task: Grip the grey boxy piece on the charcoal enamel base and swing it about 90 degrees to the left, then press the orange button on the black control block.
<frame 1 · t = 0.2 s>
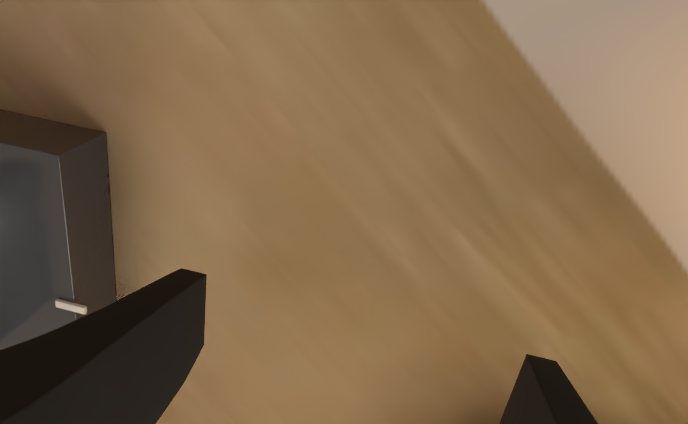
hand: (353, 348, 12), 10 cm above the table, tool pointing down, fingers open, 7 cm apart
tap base: (12, 245, 26), on the table
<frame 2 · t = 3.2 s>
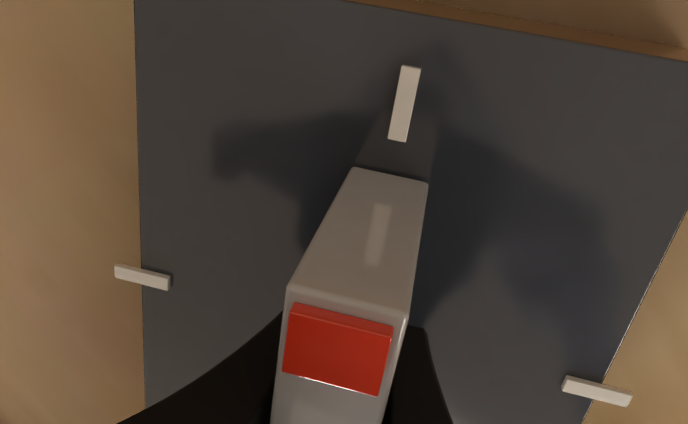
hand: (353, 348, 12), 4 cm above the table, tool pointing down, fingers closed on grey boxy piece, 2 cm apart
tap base: (377, 264, 15), on the table
grey boxy piece: (336, 405, 10), point 5 cm above the table, hinge at 0.0°, touching gripper
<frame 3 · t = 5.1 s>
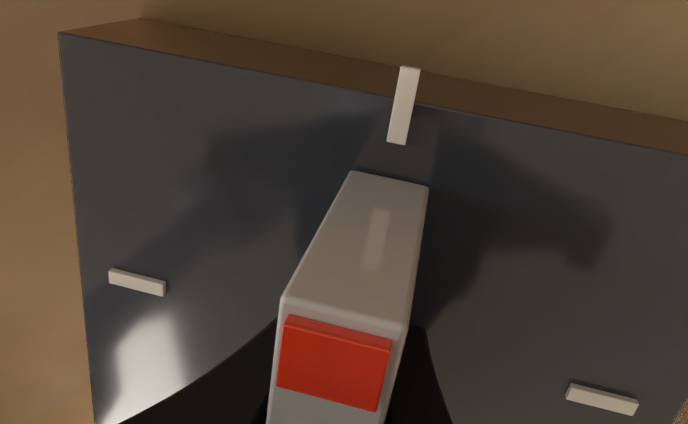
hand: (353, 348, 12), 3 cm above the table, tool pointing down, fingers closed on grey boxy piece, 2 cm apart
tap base: (376, 268, 15), on the table
grey boxy piece: (334, 415, 10), point 5 cm above the table, hinge at 89.9°, touching gripper
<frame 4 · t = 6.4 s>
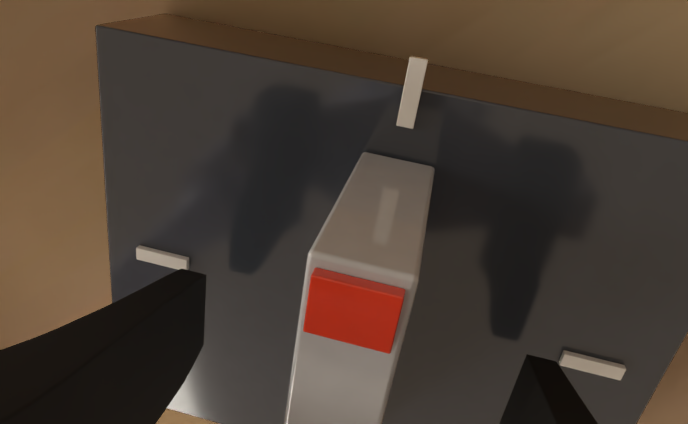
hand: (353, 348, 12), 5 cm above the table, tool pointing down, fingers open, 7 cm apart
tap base: (383, 249, 16), on the table
grey boxy piece: (348, 374, 11), point 5 cm above the table, hinge at 89.9°
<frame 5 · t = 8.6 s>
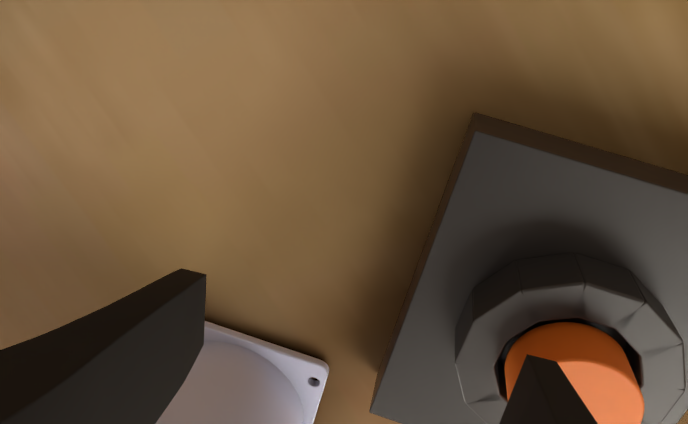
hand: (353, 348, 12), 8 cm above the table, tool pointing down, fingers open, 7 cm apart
button: (569, 388, 16), point 5 cm above the table, slide at 0.2 cm
control block: (547, 301, 20), on the table
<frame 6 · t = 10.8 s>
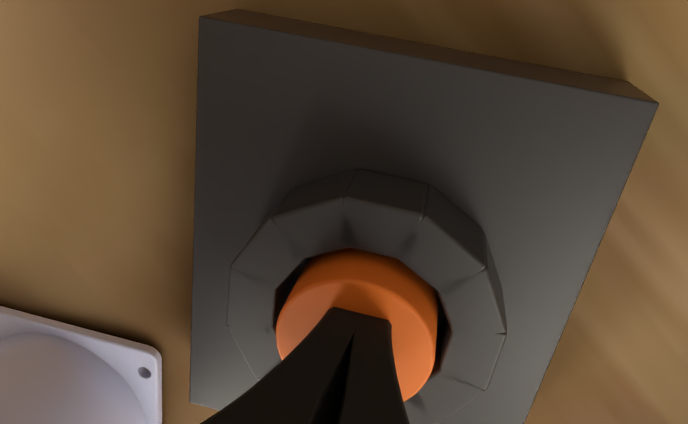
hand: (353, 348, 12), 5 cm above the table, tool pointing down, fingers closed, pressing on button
button: (359, 325, 12), point 4 cm above the table, slide at -0.5 cm, touching gripper
control block: (381, 247, 16), on the table
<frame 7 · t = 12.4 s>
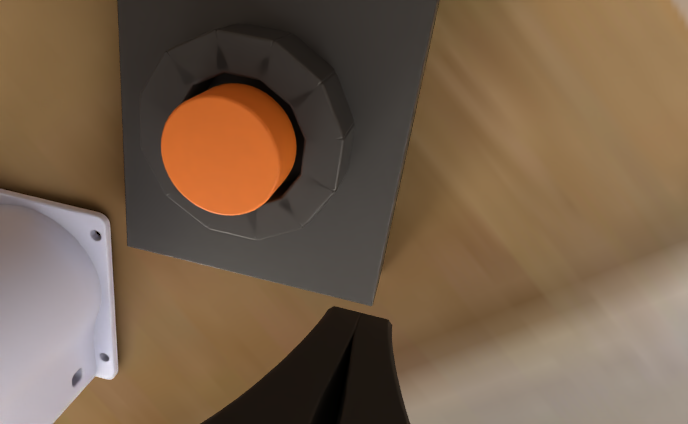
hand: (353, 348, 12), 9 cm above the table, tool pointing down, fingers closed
button: (230, 149, 16), point 5 cm above the table, slide at 0.2 cm
control block: (277, 111, 20), on the table
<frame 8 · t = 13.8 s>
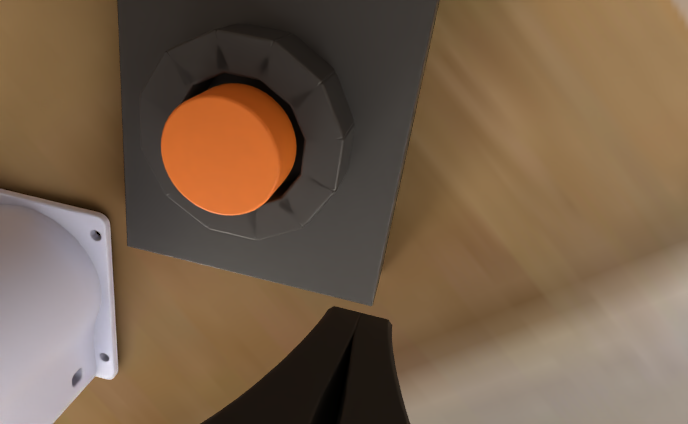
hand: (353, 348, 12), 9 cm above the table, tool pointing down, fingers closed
button: (230, 149, 16), point 5 cm above the table, slide at 0.2 cm
control block: (277, 111, 20), on the table
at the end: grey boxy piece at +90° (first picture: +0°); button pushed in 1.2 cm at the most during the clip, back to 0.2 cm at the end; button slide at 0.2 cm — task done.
